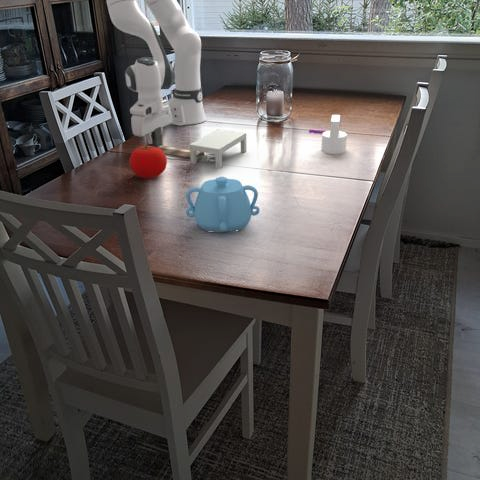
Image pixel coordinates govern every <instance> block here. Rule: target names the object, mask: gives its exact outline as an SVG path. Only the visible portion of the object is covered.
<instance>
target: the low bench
mask: <svg viewBox="0 0 480 480" xmlns="http://www.w3.org/2000/svg"><path fill="white" fill-rule="evenodd" d="M239 143H240V152H242V153H246V152H247V132H244V131H235V130H227V129H223V128H222V129H220V128H216V130H214V131H211V132H210V133H207V135H204V136H203V137H200V138H198V139H196V140H195V141H193V142H191V143H190V144H189V150H190V158H189V160H190V164H191V165H193V164H194V165H195V164H197V163H198V160H197V155H196V151H197V152H204V153H205V154H210V155H215V159H216V163H215V168H216V169H222V167H223V158H222V157H223V155H222V154H223V153H226V151H228V150H229V149H231V148H232V147H234V146H236V145H237V144H239Z"/></svg>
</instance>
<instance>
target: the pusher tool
mask: <svg viewBox="0 0 480 480" xmlns="http://www.w3.org/2000/svg"><path fill="white" fill-rule="evenodd" d="M151 134H152V135H151V137H152V138H153V139H154V143H152V144H149V143H148V142H147V145H148V146H153V147H158V148H160V149H161V150H162V151H163V152H164V154H166V155H167V154H168V155H174V156H178V157H185V158H189V159H190V149H185V148H177V147H173V146H167V145H163V137H162V135H163V134H162V135H161V127H159V128H157V129H155V131H153V132H151ZM205 154H206V153H205V152H199V151H196V155H197V161H198V160H200V159H201V158H204V157H205Z"/></svg>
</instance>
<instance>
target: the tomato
mask: <svg viewBox="0 0 480 480" xmlns="http://www.w3.org/2000/svg"><path fill="white" fill-rule="evenodd" d="M167 161H168V159H167V154H166V153H164V152H163V151H162V150H161V149H160V148H158V147H153V146H148V144H147V145H142V146H139V147H136V148H135V149H134V150H133V151H132V153H131V155H130V157H129V167H130V170H131V171H132V172H133V174H135V175H136V176H137V177H140V178H141V179H155V178H157V177H158V176H160V175H162V174H163V173H164V171H165V169H166V168H167V164H168V162H167Z"/></svg>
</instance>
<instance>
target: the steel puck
mask: <svg viewBox="0 0 480 480" xmlns="http://www.w3.org/2000/svg"><path fill="white" fill-rule="evenodd" d="M206 162H207V163H209V164H216V159H215V154H210V155H207V156H206Z"/></svg>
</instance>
